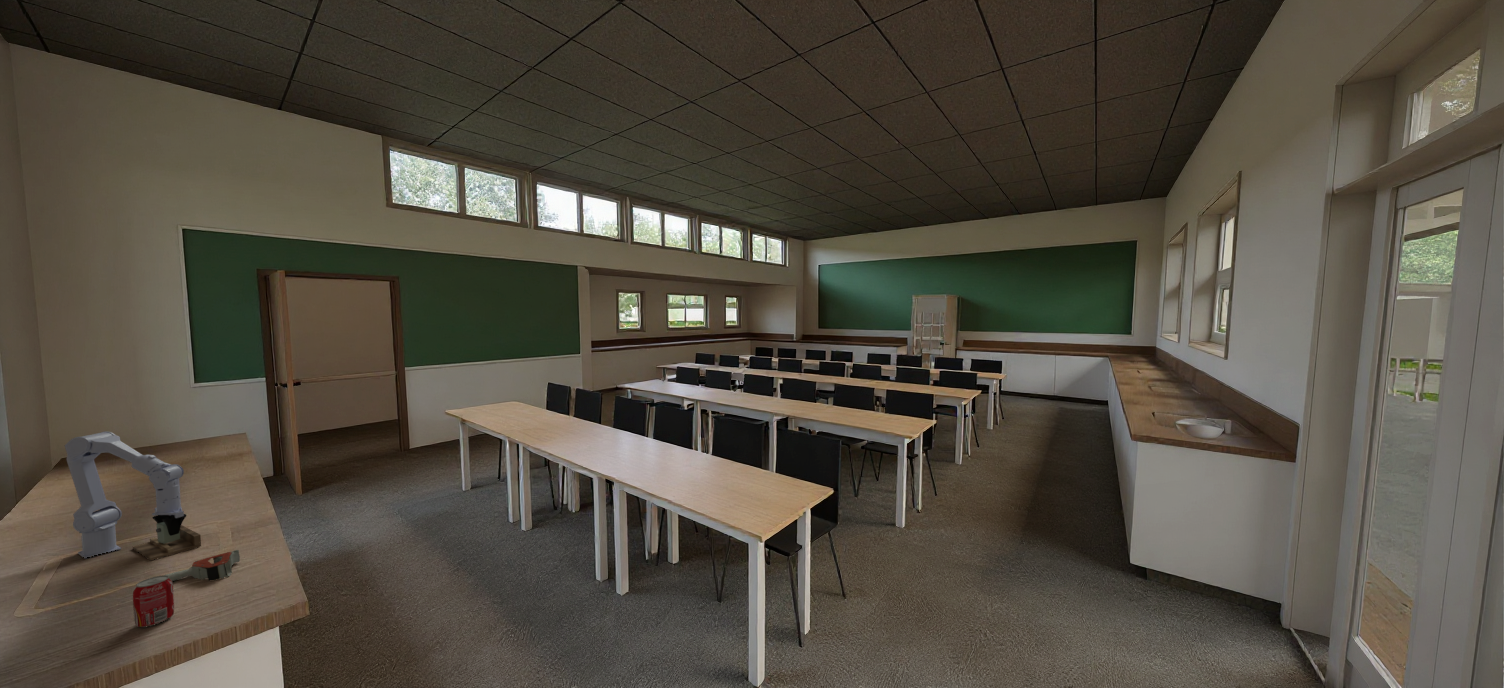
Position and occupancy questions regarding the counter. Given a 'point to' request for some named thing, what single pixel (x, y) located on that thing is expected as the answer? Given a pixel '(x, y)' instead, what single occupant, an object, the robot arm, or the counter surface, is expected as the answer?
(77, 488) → the robot arm
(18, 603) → the counter surface
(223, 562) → the tape dispenser
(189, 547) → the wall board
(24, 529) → the counter surface
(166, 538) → the cabinet block
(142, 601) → the soda can
